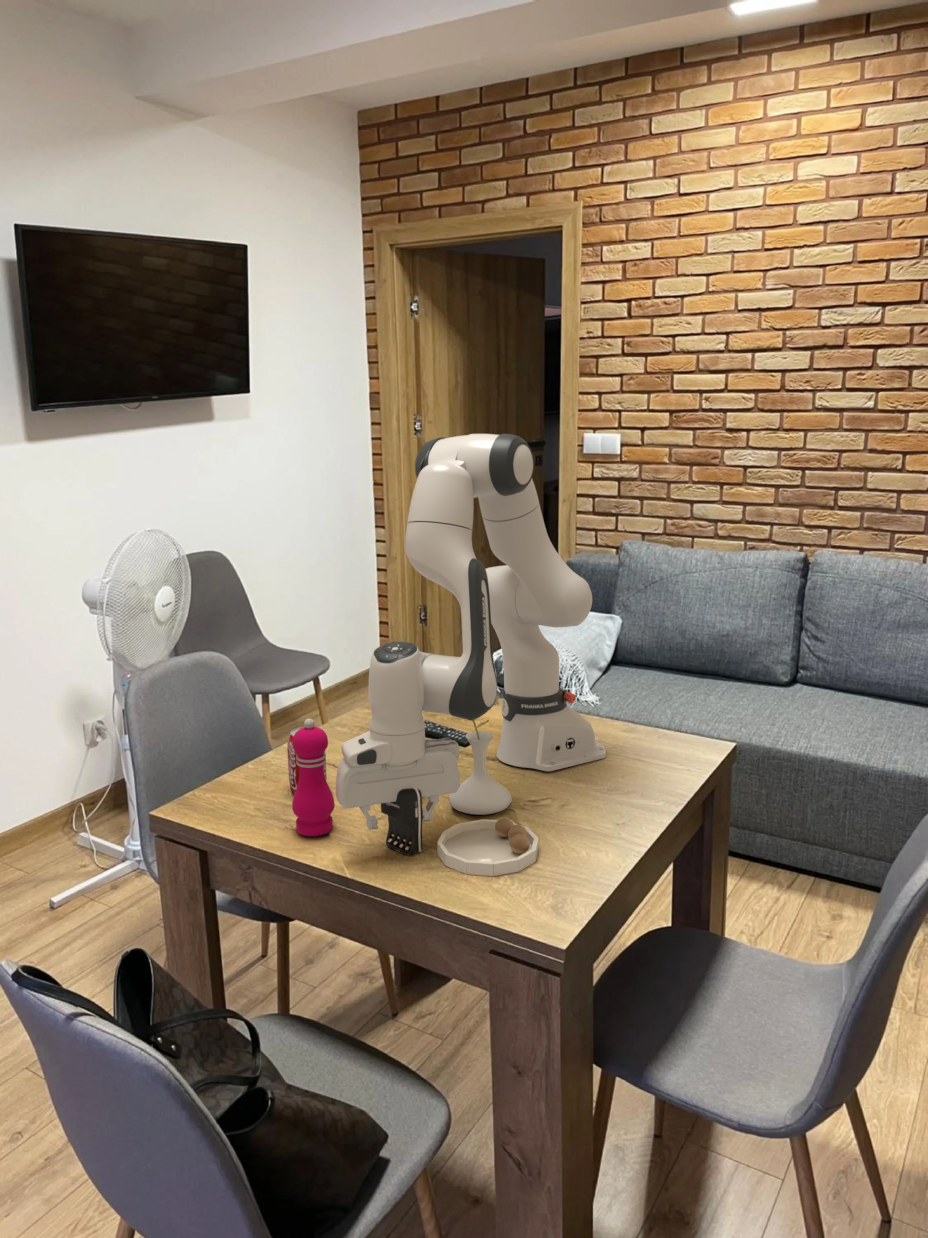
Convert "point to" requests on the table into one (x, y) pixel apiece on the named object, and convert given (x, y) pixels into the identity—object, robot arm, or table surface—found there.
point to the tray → (483, 849)
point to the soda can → (292, 765)
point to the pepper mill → (312, 782)
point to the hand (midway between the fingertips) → (399, 824)
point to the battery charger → (405, 821)
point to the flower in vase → (480, 780)
